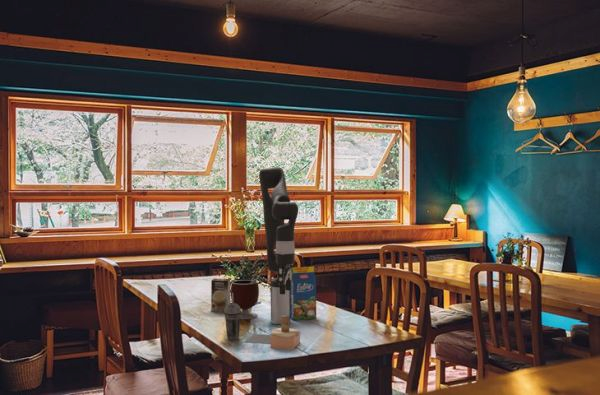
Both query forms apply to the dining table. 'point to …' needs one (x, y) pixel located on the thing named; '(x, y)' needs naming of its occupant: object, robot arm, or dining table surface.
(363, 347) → the dining table surface
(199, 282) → the dining table surface
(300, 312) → the blue food package
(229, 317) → the beverage cup
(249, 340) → the mat
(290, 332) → the lid
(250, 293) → the mate gourd
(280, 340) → the open wooden box
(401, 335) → the dining table surface
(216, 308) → the coffee box
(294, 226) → the robot arm
